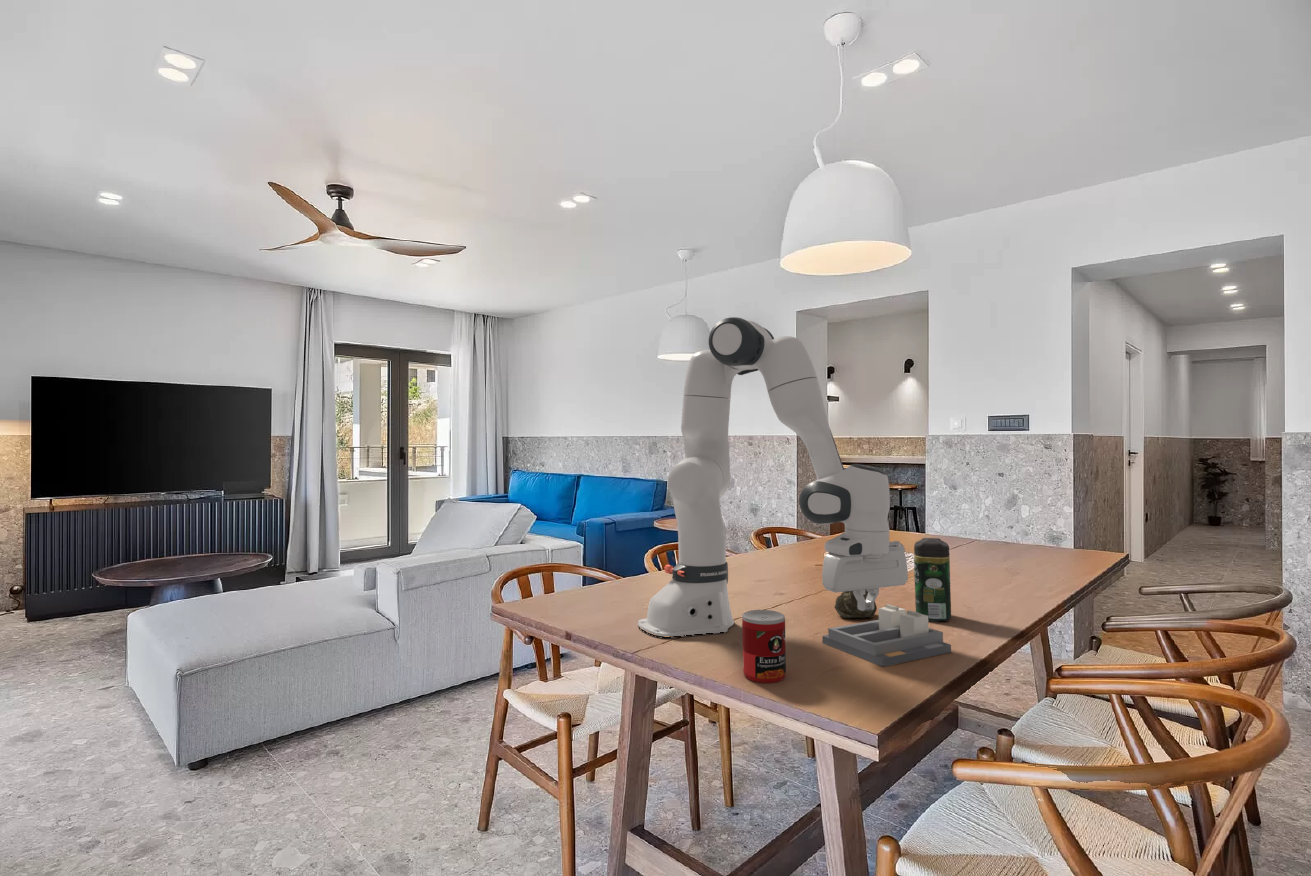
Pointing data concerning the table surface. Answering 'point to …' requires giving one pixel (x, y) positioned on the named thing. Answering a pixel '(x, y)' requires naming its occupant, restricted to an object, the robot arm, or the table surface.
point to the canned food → (764, 646)
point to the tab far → (890, 616)
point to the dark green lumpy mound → (852, 606)
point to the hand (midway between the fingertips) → (865, 609)
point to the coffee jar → (932, 579)
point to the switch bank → (885, 643)
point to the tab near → (913, 624)
